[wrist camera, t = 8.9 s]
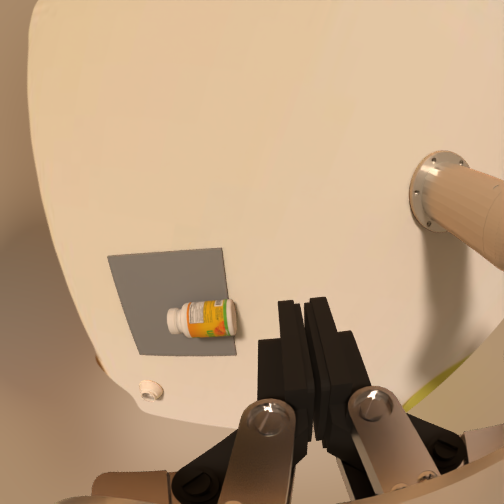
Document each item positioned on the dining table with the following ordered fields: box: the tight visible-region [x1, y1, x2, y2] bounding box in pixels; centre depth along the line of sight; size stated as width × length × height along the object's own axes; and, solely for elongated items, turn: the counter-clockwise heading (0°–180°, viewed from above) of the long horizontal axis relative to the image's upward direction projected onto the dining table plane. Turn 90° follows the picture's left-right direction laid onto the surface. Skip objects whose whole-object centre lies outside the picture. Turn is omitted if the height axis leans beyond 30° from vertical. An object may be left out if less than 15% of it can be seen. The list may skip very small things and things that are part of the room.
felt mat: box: [107, 248, 236, 356], centre depth 46 cm, size 18×20×1 cm
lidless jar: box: [139, 380, 163, 402], centre depth 54 cm, size 5×3×5 cm
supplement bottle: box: [167, 299, 237, 338], centre depth 43 cm, size 5×5×10 cm
